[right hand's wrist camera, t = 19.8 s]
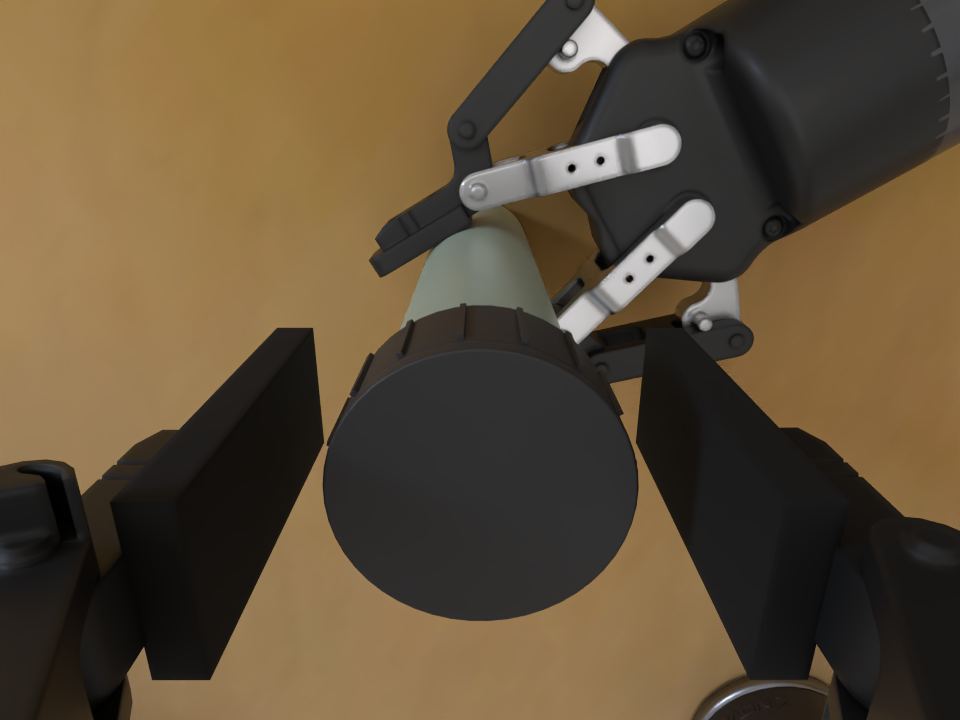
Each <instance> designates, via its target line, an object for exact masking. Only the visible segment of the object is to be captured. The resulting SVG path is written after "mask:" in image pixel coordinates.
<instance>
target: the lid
mask: <svg viewBox="0 0 960 720" xmlns="http://www.w3.org/2000/svg"><path fill="white" fill-rule="evenodd" d="M350 395H351V398H347V400H346V403H345V405H344V407H343V409H342V411H341V413H340V415H339V417H338V419H337V422H336V424H335V426H334V428H333V430H332V432H331V434H330V436H329V438H328V441H327V446H329V448H328V451H327V455H326V460H325V464H324V473H323V495H324V504H325V508H326V512H327V517H328V521H329V523H330V526H331V528H332V531H333V533H334V536H335V538H336V540H337V541H338V543H339V545H340V547H341V548H342V550H343V552H344V554H345V555H346V556H347V557H348V559H349V560H350V561H351V563H352V564H353V565H354V566H355V568H356V569H357V570H358V571H359V572H360V573H361V574H362V575H363V576H364V577H365V578H366V579H367V580H368V581H370V582H371V583H372V584H374V585H375V586H376V587H377V588H379V589H380V590H381V591H383V592H384V593H386V594H388V595H389V596H391V597H392V598H394V599H396V600H397V601H399V602H402V603H404V604H406V605H408V606H410V607H412V608H415V609H417V610H420V611H423V612H426V613H429V614H432V615H437V616H441V617H446V618H450V619H459V620H468V621H492V620H503V619H510V618H515V617H520V616H525V615H528V614H532V613H535V612H538V611H541V610H544V609H546V608H549V607H551V606H553V605H555V604H558V603H560V602H562V601H564V600H565V599H567V598H569V597H570V596H572V595H574V594H576V593H577V592H579V591H580V590H581V589H583V588H584V587H585V586H587V585H588V584H589V583H591V582H592V581H593V580H594V579H595V578H596V577H597V576H598V575H599V574H600V573H601V572H602V571H603V570H604V569H605V568H606V567H607V565H608V564H609V563H610V562H611V560H612V559H613V558H614V557H615V555H616V554H617V552H618V550H619V549H620V547H621V546H622V544H623V542H624V541H625V538H626V536H627V534H628V531H629V529H630V527H631V524H632V521H633V517H634V514H635V510H636V506H637V497H638V469H637V461H636V459H635V453H634V450H633V447H632V445H631V442H630V439H629V436H628V434H627V432H626V430H625V427H624V425H623V423H622V421H621V419H620V417H619V416H620V415H622V414H624V413H623V411H622V409H621V407H620V405H619V403H618V401H617V399H616V396H615V394H614V392H613V390H612V388H611V386H610V384H609V382H608V380H607V378H606V376H605V374H604V372H603V370H600V371H598V370H597V369H596V367H595V365H594V363H593V362H592V361H591V359H590V358H589V357H588V355H587V354H586V353H585V351H584V350H583V349H582V348H581V347H580V346H579V345H578V344H577V343H576V342H575V340H574V338H573V336H572V333H570V332H569V331H568V330H567V331H566V332H565V333H564V332H563V331H562V330H560V329H559V328H557V327H556V326H554V325H552V324H550V323H549V322H547V321H545V320H544V319H541V318H539V317H536V316H534V315H531V314H529V313H526V312H524V311H523V308H520V307H517V308H516V310H515V309H512V308H507V307H499V306H492V305H470V306H467V305H466V303H461V304H460V307H454V308H450V309H446V310H442V311H438V312H435V313H432V314H430V315H427V316H425V317H422V318H420V319H418V320H416V321H413V319H411V320H409V321H407V323H406V326H405V327H404V328H402V329H401V330H400V331H398V332H397V333H396V334H394V335H393V336H392V337H390V338H389V339H388V340H387V341H386V342H385V343H384V344H383V345H382V346H381V347H380V348H379V349H378V350H377V352H376V353H375V354H374V355H373V354H372V353H370V354H369V355H368V356H367V358H366V360H365V362H364V365H363V367H362V369H361V371H360V373H359V375H358V377H357V379H356V382H355V384H354V386H353V388H352V390H351V392H350Z"/></svg>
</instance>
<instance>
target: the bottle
mask: <svg viewBox="0 0 960 720" xmlns="http://www.w3.org/2000/svg"><path fill="white" fill-rule="evenodd" d="M461 303H466V305H467V306H470V305H492V306H499V307H507V308H512V309H515V310H516V308H517V307H520V308H523V311H524V312H526V313H529V314H531V315H534V316H536V317H539V318H541V319H544V320H545V321H547V322H549V323H550V324H552V325H554V326H556V327H557V328H559V329H560V330H561V328H560V325H559V323H558V320H557V317H556V315H555V312H554V309H553V307H552V304H551V302H550V299H549V296H548V294H547V291H546V288H545V286H544V283H543V280H542V278H541V275H540V273H539V270H538V267H537V265H536V262H535V259H534V257H533V254H532V251H531V249H530V246H529V244H528V241H527V238H526V236H525V233H524V230H523V228H522V226H521V224H520V222H519V221H518V219H517V218H516V217H515V216H514V215H513V214H512V213H511V212H510V211H509V210H508V209H506V208H505V207H503V206H497V207H493V208H490V209H486V210H482V211H479V212H477V213H475V214H474V215H473V216H472V224H471V225H469V226H467V227H466V228H464V229H462V230H461V231H459V232H457V233H456V234H454V235H452V236H450V237H448V238H447V239H445V240H444V241H442V242H441V243H439V244H437V245H436V246H434V247H432V248H431V249H430V252H429V254H428V257H427V260H426V262H425V265H424V268H423V270H422V273H421V275H420V278H419V281H418V283H417V286H416V289H415V291H414V294H413V297H412V299H411V302H410V304H409V307H408V310H407V312H406V315H405V318H404V320H403V323H402V326H401V328H400V330H401V329H402V328H404V327H405V326H406V323H407V321H409V320H411V319H413V321H416V320H418V319H420V318H422V317H425V316H427V315H430V314H432V313H435V312H438V311H442V310H446V309H450V308H454V307H460V304H461Z"/></svg>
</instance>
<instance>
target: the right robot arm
mask: <svg viewBox="0 0 960 720" xmlns="http://www.w3.org/2000/svg"><path fill="white" fill-rule="evenodd" d="M323 444H324V436H323V426H322V416H321V406H320V395H319V385H318V375H317V364H316V354H315V344H314V333H313V328H277V329H276V330H275V331H274V332H273V333H272V334H271V335H270V336H269V337H268V338H267V339H266V340H265V341H264V342H263V343H262V344H261V345H260V346H259V347H258V348H257V349H256V350H255V351H254V353H253V354H252V355H251V356H250V357H249V358H248V359H247V360H246V361H245V362H244V363H243V364H242V365H241V366H240V367H239V368H238V369H237V370H236V371H235V372H234V373H233V374H232V375H231V376H230V377H229V378H228V380H227V381H226V382H225V383H224V384H223V385H222V386H221V387H220V388H219V389H218V390H217V391H216V392H215V393H214V394H213V395H212V396H211V397H210V398H209V399H208V400H207V401H206V402H205V403H204V404H203V405H202V407H201V408H200V409H199V410H198V411H197V412H196V413H195V414H194V415H193V416H192V417H191V418H190V419H189V420H188V421H187V422H186V423H185V424H184V425H183V426H182V427H181V428H180V429H179V430H162V431H160V432H158V433H156V434H154V435H152V436H150V437H148V438H147V439H145V440H143V441H141V442H139V443H137V444H135V445H134V446H133V447H132V448H131V449H130V450H129V451H128V452H127V453H126V454H125V455H124V456H123V457H121V458H120V459H119V460H118V461H117V465H113V466H112V467H111V468H110V469H109V470H108V471H107V472H106V473H105V474H104V475H102V480H97V481H96V482H95V483H94V484H93V485H92V486H91V487H90V488H89V489H88V490H87V491H86V492H85V493H84V494H82V495H81V494H80V490H79V486H78V482H77V478H76V474H75V471H74V468H73V467H71V466H69V465H68V464H66V463H65V462H60V461H53V460H34V461H22V462H18V463H13V464H9V465H4V466H0V720H130V714H131V708H132V696H131V689H130V685H129V681H128V677H127V672H128V671H129V669H130V668H131V666H132V664H133V663H134V661H135V660H136V658H137V657H138V655H139V653H140V652H141V650H142V649H143V647H144V648H145V652H146V656H147V660H148V664H149V669H150V673H151V677H152V680H210V679H211V677H212V675H213V673H214V671H215V669H216V667H217V664H218V662H219V660H220V658H221V656H222V654H223V652H224V650H225V648H226V646H227V644H228V642H229V639H230V637H231V635H232V633H233V631H234V629H235V627H236V625H237V623H238V621H239V619H240V617H241V614H242V612H243V610H244V608H245V606H246V604H247V602H248V600H249V598H250V596H251V594H252V592H253V589H254V587H255V585H256V583H257V581H258V579H259V577H260V575H261V573H262V571H263V569H264V567H265V564H266V562H267V560H268V558H269V556H270V554H271V552H272V550H273V548H274V546H275V544H276V542H277V539H278V537H279V535H280V533H281V531H282V529H283V527H284V525H285V523H286V521H287V519H288V517H289V514H290V512H291V510H292V508H293V506H294V504H295V502H296V500H297V498H298V496H299V494H300V491H301V489H302V487H303V485H304V483H305V481H306V479H307V477H308V475H309V473H310V471H311V469H312V466H313V464H314V462H315V460H316V458H317V456H318V454H319V452H320V450H321V448H322V446H323ZM636 444H637V446H638V448H639V450H640V452H641V454H642V456H643V458H644V460H645V462H646V464H647V466H648V469H649V471H650V473H651V475H652V477H653V479H654V481H655V483H656V485H657V487H658V489H659V491H660V494H661V496H662V498H663V500H664V502H665V504H666V506H667V508H668V510H669V512H670V514H671V517H672V519H673V521H674V523H675V525H676V527H677V529H678V531H679V533H680V535H681V537H682V539H683V542H684V544H685V546H686V548H687V550H688V552H689V554H690V556H691V558H692V560H693V562H694V564H695V567H696V569H697V571H698V573H699V575H700V577H701V579H702V581H703V583H704V585H705V587H706V589H707V592H708V594H709V596H710V598H711V600H712V602H713V604H714V606H715V608H716V610H717V612H718V614H719V617H720V619H721V621H722V623H723V625H724V627H725V629H726V631H727V633H728V635H729V637H730V639H731V642H732V644H733V646H734V648H735V650H736V652H737V654H738V656H739V658H740V660H741V662H742V664H743V667H744V669H745V671H746V673H747V675H748V677H749V679H750V680H808V677H809V673H810V669H811V664H812V660H813V656H814V652H815V648H816V644H817V645H818V647H819V648H820V650H821V652H822V653H823V655H824V656H825V658H826V659H827V661H828V663H829V664H830V666H831V667H832V669H833V670H834V673H833V677H832V681H831V685H830V689H829V692H828V696H827V700H826V704H825V708H824V712H823V716H822V720H960V531H959V530H956V529H954V528H952V527H949V526H947V525H944V524H940V523H936V522H933V521H929V520H925V519H921V518H911V517H904V516H903V515H902V514H901V513H900V512H899V511H898V510H897V509H896V508H895V507H894V506H893V505H892V504H890V503H889V502H888V501H887V500H886V499H885V498H884V497H883V496H882V495H881V494H880V493H879V492H878V491H877V490H876V489H875V488H873V487H872V486H871V485H870V484H869V483H868V482H867V481H866V480H865V479H864V478H863V477H859V476H858V472H856V471H855V470H854V469H853V468H852V467H851V466H850V465H849V464H848V463H844V462H843V458H842V457H840V456H839V455H838V454H837V453H836V452H835V451H834V450H833V449H832V448H831V447H830V446H829V445H828V444H827V443H826V442H824V441H822V440H820V439H818V438H816V437H814V436H812V435H811V434H809V433H807V432H805V431H803V430H801V429H799V428H779V427H778V426H777V425H776V424H775V423H774V422H773V421H772V420H771V419H770V418H769V417H768V416H767V415H766V414H765V413H764V412H763V411H762V410H761V409H760V408H759V407H758V405H757V404H756V403H755V402H754V401H753V400H752V399H751V398H750V397H749V396H748V395H747V394H746V393H745V392H744V391H743V390H742V389H741V388H740V387H739V386H738V385H737V384H736V383H735V382H734V381H733V380H732V378H731V377H730V376H729V375H728V374H727V373H726V372H725V371H724V370H723V369H722V368H721V367H720V366H719V365H718V364H717V363H716V362H715V361H714V360H713V359H712V358H711V357H710V356H709V355H708V354H707V353H706V351H705V350H704V349H703V348H702V347H701V346H700V345H699V344H698V343H697V342H696V341H695V340H694V339H693V338H692V337H691V336H690V335H689V334H688V333H687V332H686V331H685V330H684V329H683V328H647V333H646V344H645V354H644V364H643V375H642V385H641V395H640V406H639V416H638V426H637V436H636Z"/></svg>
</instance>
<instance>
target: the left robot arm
mask: <svg viewBox="0 0 960 720" xmlns="http://www.w3.org/2000/svg"><path fill="white" fill-rule="evenodd" d="M594 3H595V0H546V1H545V3H544V4H543V5H542V6H541V7H540V9H539V10H538V11H537V12H536V14H535V15H534V16H533V17H532V18H531V20H530V21H529V22H528V23H527V25H526V26H525V27H524V28H523V30H522V31H521V32H520V33H519V34H518V36H517V37H516V38H515V39H514V41H513V42H512V43H511V44H510V45H509V47H508V48H507V49H506V50H505V52H504V53H503V54H502V55H501V57H500V58H499V59H498V60H497V61H496V63H495V64H494V65H493V66H492V68H491V69H490V70H489V71H488V72H487V74H486V75H485V76H484V77H483V79H482V80H481V81H480V82H479V84H478V85H477V86H476V87H475V88H474V90H473V91H472V92H471V93H470V95H469V96H468V97H467V98H466V100H465V101H464V102H463V103H462V104H461V106H460V107H459V108H458V109H457V111H456V112H455V113H454V114H453V115H452V117H451V118H450V120H449V122H448V126H447V133H448V137H449V139H450V144H451V149H452V154H453V159H454V166H455V171H454V176H453V178H452V180H451V181H450V182H449V183H448V184H447V185H445V186H444V187H442V188H440V189H439V190H437V191H435V192H434V193H432V194H431V195H429V196H427V197H426V198H424V199H423V200H421V201H419V202H418V203H416V204H414V205H413V206H411V207H410V208H408V209H406V210H405V211H403V212H402V213H400V214H398V215H397V216H395V217H393V218H392V219H390V220H389V221H388V222H387V223H386V224H385V226H384V227H383V228H382V230H381V231H380V233H379V234H378V235H377V237H376V238H375V240H376V241H377V243H378V244H379V246H380V249H379V250H377V251H376V252H375V253H374V254H373V256H372V257H371V258H370V259H369V262H370V263H371V265H372V266H373V268H374V269H375V271H376V272H377V274H378V275H379V277H380V278H381V277H383V276H386V275H387V274H389V273H391V272H392V271H394V270H396V269H397V268H399V267H401V266H402V265H404V264H406V263H407V262H409V261H411V260H412V259H414V258H416V257H417V256H419V255H421V254H422V253H424V252H426V251H427V250H429V249H431V248H432V247H434V246H436V245H437V244H439V243H441V242H442V241H444V240H445V239H447V238H448V237H450V236H452V235H454V234H456V233H457V232H459V231H461V230H462V229H464V228H466V227H467V226H469V225H471V224H472V216H473V215H474V214H475V213H477V212H479V211H482V210H486V209H490V208H493V207H497V206H501V205H505V204H508V203H512V202H516V201H520V200H524V199H527V198H532V197H541V196H546V195H551V194H554V193H558V192H562V191H566V190H568V191H569V193H570V195H571V197H572V198H573V199H574V200H575V201H576V203H577V204H578V205H579V206H580V207H581V208H582V209H583V210H584V211H585V212H586V213H587V215H588V219H589V224H590V228H591V233H592V237H593V239H594V240H595V242H596V244H597V246H598V248H597V249H596V250H595V251H594V252H593V253H592V254H591V255H590V256H589V257H588V258H587V259H586V260H585V261H584V262H583V263H582V264H581V266H580V267H579V268H578V270H577V272H576V274H575V276H574V277H573V278H572V279H571V280H570V281H569V282H568V283H567V284H566V285H565V286H564V287H563V288H562V289H561V290H560V291H559V292H558V293H557V294H556V295H555V296H554V297H553V298H552V299H551V300H550V302H551V304H552V307H553V309H554V312H555V315H556V317H557V320H558V323H559V325H560V328H561V330H562V331H563V332H564V333H565V332H566V331H567V330H568V331H569V332H570V333H572V336H573V338H574V340H575V342H576V343H577V344H578V345H579V346H580V347H581V348H582V349H583V350H584V351H585V353H586V354H587V355H588V357H589V358H590V359H591V361H592V362H593V363H594V365H595V367H596V369H597V370H598V371H600V370H603V372H604V374H605V376H606V378H607V380H608V382H609V384H610V383H614V382H619V381H624V380H629V379H633V378H638V377H642V375H643V364H644V354H645V344H646V333H647V328H683V329H684V330H685V331H686V332H687V333H688V334H689V335H690V336H691V337H692V338H693V339H694V340H695V341H696V342H697V343H698V344H699V345H700V346H701V347H702V348H703V349H704V350H705V351H706V353H707V354H708V355H709V356H710V357H711V358H712V359H713V360H714V361H719V360H724V359H729V358H734V357H738V356H741V355H743V354H745V353H746V352H748V351H749V349H750V348H751V347H752V344H753V341H754V336H753V333H752V331H751V330H750V329H749V328H748V327H747V326H746V325H744V323H743V322H742V321H741V315H740V304H739V293H738V282H737V277H739V276H740V275H742V274H743V273H744V272H745V271H746V270H747V269H748V268H749V266H750V265H751V264H752V262H753V261H754V259H755V258H756V257H757V256H758V255H759V254H760V252H761V251H762V250H764V249H765V248H766V247H767V246H768V245H770V244H771V243H773V242H774V241H776V240H778V239H781V238H783V237H785V236H787V235H790V234H792V233H794V232H796V231H798V230H800V229H802V228H804V227H806V226H808V225H810V224H812V223H813V222H815V221H817V220H819V219H821V218H823V217H824V216H826V215H828V214H830V213H832V212H834V211H836V210H837V209H839V208H841V207H843V206H845V205H847V204H848V203H850V202H852V201H854V200H856V199H858V198H860V197H861V196H863V195H865V194H867V193H869V192H871V191H872V190H874V189H876V188H878V187H880V186H882V185H884V184H885V183H887V182H889V181H891V180H893V179H895V178H896V177H898V176H900V175H902V174H904V173H906V172H907V171H909V170H911V169H913V168H915V167H917V166H919V165H920V164H922V163H924V162H926V161H928V160H930V159H931V158H933V157H935V156H937V155H939V154H941V153H943V152H944V151H946V150H948V149H950V148H952V147H954V146H955V145H957V144H959V143H960V0H727V1H725V2H724V3H722V4H721V5H719V6H717V7H716V8H714V9H712V10H711V11H709V12H708V13H706V14H704V15H703V16H701V17H700V18H698V19H696V20H695V21H693V22H692V23H690V24H688V25H687V26H685V27H684V28H682V29H680V30H679V31H677V32H675V33H673V34H672V35H670V36H667V37H662V38H644V39H638V40H635V41H632V42H629V41H628V40H627V39H626V38H625V37H624V36H623V35H622V34H621V33H620V32H619V31H618V30H617V29H616V28H615V27H614V25H613V24H612V23H611V22H610V21H609V20H608V19H607V18H606V17H605V16H604V15H603V14H602V13H601V12H600V11H599V9H598V8H597V7H596V6H595V5H594ZM587 62H592V63H596V64H598V65H600V66H601V67H602V68H603V69H602V71H601V73H600V75H599V77H598V80H597V82H596V84H595V86H594V88H593V91H592V93H591V95H590V97H589V99H588V102H587V104H586V106H585V108H584V110H583V113H582V115H581V117H580V119H579V121H578V124H577V126H576V128H575V130H574V132H573V135H572V137H571V139H570V141H566V142H562V143H559V144H555V145H551V146H548V147H544V148H540V149H536V150H533V151H529V152H526V153H524V154H521V155H518V156H514V157H511V158H507V159H503V160H500V161H496V162H492V160H491V154H490V149H489V143H488V137H487V136H488V135H489V133H490V132H491V131H492V130H493V129H494V128H495V126H496V125H497V124H498V123H499V122H500V120H501V119H502V118H503V117H504V116H505V114H506V113H507V112H508V111H509V110H510V109H511V107H512V106H513V105H514V104H515V103H516V101H517V100H518V99H519V98H520V97H521V95H522V94H523V93H524V92H525V91H526V89H527V88H528V87H529V86H530V85H531V84H532V82H533V81H534V80H535V79H536V78H537V76H538V75H539V74H540V73H541V72H542V70H543V69H544V68H545V67H546V66H548V67H549V68H550V69H551V70H552V71H553V72H555V73H558V74H567V73H570V72H572V71H574V70H575V69H577V68H578V67H579V66H580V65H582V64H583V63H587ZM628 275H630V277H629V278H628V279H626V277H627V276H628ZM655 278H667V279H678V280H689V281H700V282H702V285H701V287H700V289H699V290H698V291H697V292H696V293H695V294H694V295H692V296H689V297H687V298H684V299H683V300H682V301H680V302H679V304H678V305H677V307H676V310H675V314H671V315H666V316H662V317H657V318H652V319H648V320H643V321H639V322H634V323H629V324H625V325H620V326H615V327H611V328H606V329H602V330H597V331H593V330H594V329H595V328H596V327H597V326H598V325H599V324H600V323H601V322H602V321H603V320H604V319H605V318H607V317H608V316H609V315H612V314H616V313H618V312H619V311H621V310H622V309H623V308H624V307H625V306H626V305H628V304H629V303H630V302H631V301H632V300H633V299H634V298H635V297H636V296H637V295H638V294H639V293H640V292H641V291H642V290H643V289H644V288H645V287H647V286H648V285H649V284H650V283H651V282H652V281H653V280H654V279H655ZM829 689H830V688H829V687H828V686H826V685H825V684H823V683H821V682H820V681H818V680H816V679H813V678H811V677H808V680H750V679H749V677H747V678H743V679H741V680H738V681H736V682H734V683H731V684H729V685H728V686H726V687H724V688H722V689H721V690H719V691H718V692H716V693H715V694H714V695H712V696H711V697H710V698H709V699H708V700H707V701H706V702H705V703H704V704H703V705H702V706H701V708H700V709H699V711H698V712H697V714H696V715H695V717H694V720H822V716H823V712H824V708H825V704H826V700H827V696H828V692H829Z"/></svg>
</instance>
